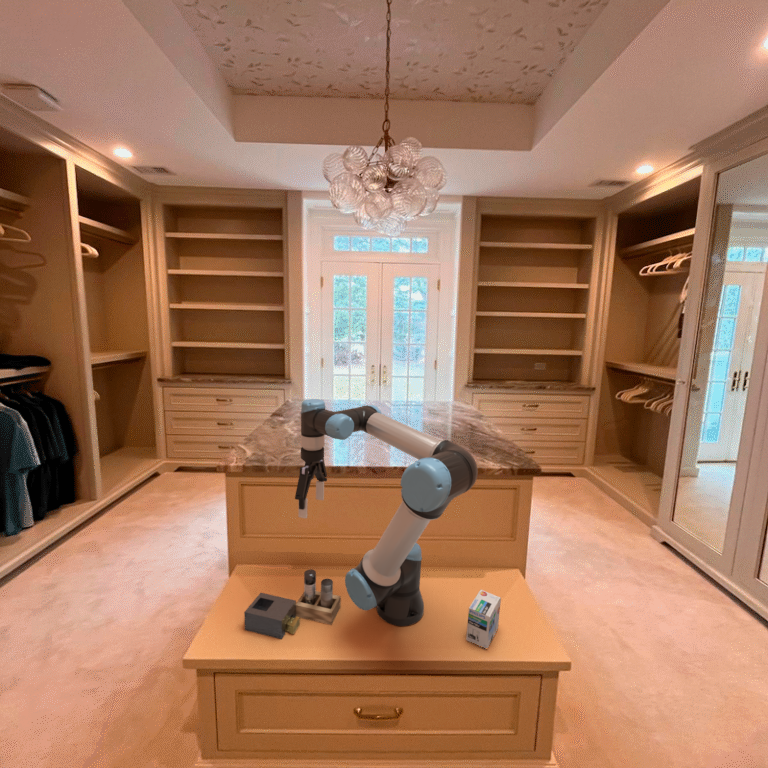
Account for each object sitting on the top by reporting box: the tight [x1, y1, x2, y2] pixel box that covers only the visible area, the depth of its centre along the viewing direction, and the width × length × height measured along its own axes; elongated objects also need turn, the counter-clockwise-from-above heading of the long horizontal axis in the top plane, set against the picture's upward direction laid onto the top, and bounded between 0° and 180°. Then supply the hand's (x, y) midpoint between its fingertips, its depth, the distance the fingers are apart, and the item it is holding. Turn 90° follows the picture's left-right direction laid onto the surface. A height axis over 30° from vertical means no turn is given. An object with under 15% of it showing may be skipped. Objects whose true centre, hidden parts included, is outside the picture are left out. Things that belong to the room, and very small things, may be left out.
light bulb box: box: [465, 589, 502, 649], centre depth 126 cm, size 11×7×11 cm, turn 148°
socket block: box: [243, 592, 297, 640], centre depth 126 cm, size 12×9×6 cm
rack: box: [296, 578, 342, 626], centre depth 132 cm, size 12×8×11 cm, turn 76°
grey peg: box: [303, 568, 317, 605], centre depth 132 cm, size 4×4×12 cm
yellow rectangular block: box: [285, 616, 301, 635], centre depth 126 cm, size 11×4×3 cm, turn 76°
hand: (311, 508), depth 140 cm, fingers open, 13 cm apart
